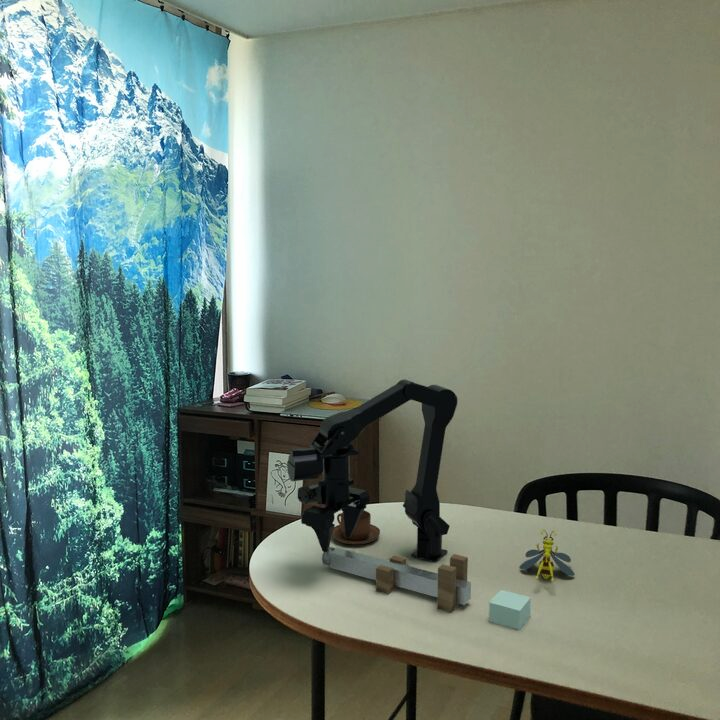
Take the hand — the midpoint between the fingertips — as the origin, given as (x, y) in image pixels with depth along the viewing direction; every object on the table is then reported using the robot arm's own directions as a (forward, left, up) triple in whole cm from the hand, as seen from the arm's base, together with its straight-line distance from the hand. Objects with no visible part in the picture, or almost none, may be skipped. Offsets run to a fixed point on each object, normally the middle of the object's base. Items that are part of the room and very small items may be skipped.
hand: (336, 544), depth 155 cm
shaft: (0, +14, -5) cm, 15 cm away
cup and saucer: (-18, -6, -7) cm, 20 cm away
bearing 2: (0, +28, -6) cm, 28 cm away
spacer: (0, +39, -2) cm, 40 cm away
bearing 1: (0, +14, -6) cm, 15 cm away
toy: (-21, +40, -6) cm, 46 cm away
